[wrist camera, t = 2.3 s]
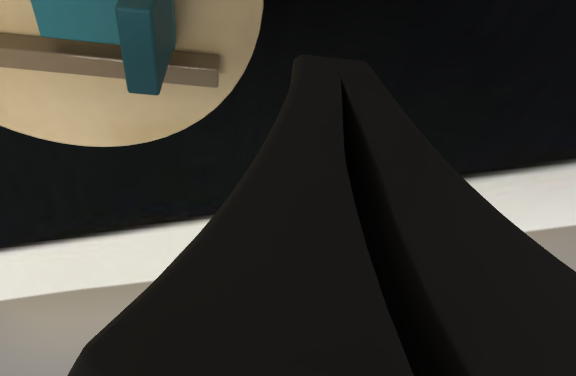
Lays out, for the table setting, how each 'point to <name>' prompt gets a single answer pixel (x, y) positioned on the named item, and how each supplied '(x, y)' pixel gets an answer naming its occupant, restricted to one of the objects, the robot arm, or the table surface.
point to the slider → (118, 33)
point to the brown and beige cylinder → (120, 76)
